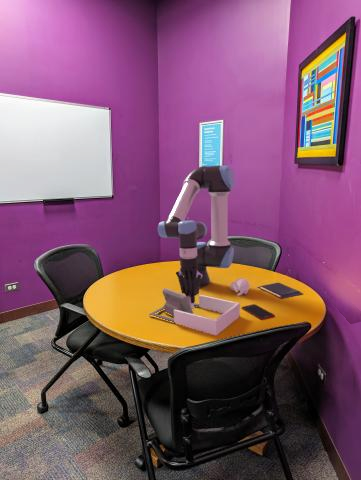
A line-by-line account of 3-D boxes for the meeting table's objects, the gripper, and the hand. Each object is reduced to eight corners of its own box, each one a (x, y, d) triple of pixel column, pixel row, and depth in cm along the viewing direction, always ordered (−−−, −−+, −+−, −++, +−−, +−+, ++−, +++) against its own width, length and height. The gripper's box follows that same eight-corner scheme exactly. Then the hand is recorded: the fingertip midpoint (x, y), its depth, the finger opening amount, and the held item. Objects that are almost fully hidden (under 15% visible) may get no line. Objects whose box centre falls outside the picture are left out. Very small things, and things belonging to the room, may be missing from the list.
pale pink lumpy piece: (240, 280, 169) (226, 276, 180) (241, 297, 170) (227, 292, 181) (250, 278, 172) (235, 274, 182) (251, 294, 173) (236, 290, 183)
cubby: (174, 323, 143) (173, 310, 142) (200, 306, 160) (200, 294, 159) (215, 335, 132) (215, 321, 131) (239, 316, 149) (239, 303, 148)
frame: (149, 316, 151) (149, 314, 151) (177, 301, 168) (177, 299, 168) (173, 323, 144) (173, 320, 144) (199, 306, 161) (199, 304, 160)
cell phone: (254, 305, 161) (254, 303, 160) (275, 317, 148) (275, 315, 147) (240, 309, 157) (240, 307, 157) (261, 321, 144) (261, 319, 144)
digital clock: (195, 317, 149) (194, 294, 147) (177, 322, 144) (176, 299, 142) (177, 305, 162) (176, 284, 160) (160, 310, 158) (159, 288, 156)
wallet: (304, 291, 172) (280, 296, 166) (304, 295, 172) (280, 300, 167) (279, 280, 190) (256, 284, 185) (279, 284, 191) (256, 288, 185)
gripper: (171, 257, 146) (174, 309, 150) (196, 260, 139) (198, 315, 143) (181, 254, 153) (183, 304, 156) (206, 256, 145) (207, 309, 149)
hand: (190, 309), depth 150 cm, fingers closed
